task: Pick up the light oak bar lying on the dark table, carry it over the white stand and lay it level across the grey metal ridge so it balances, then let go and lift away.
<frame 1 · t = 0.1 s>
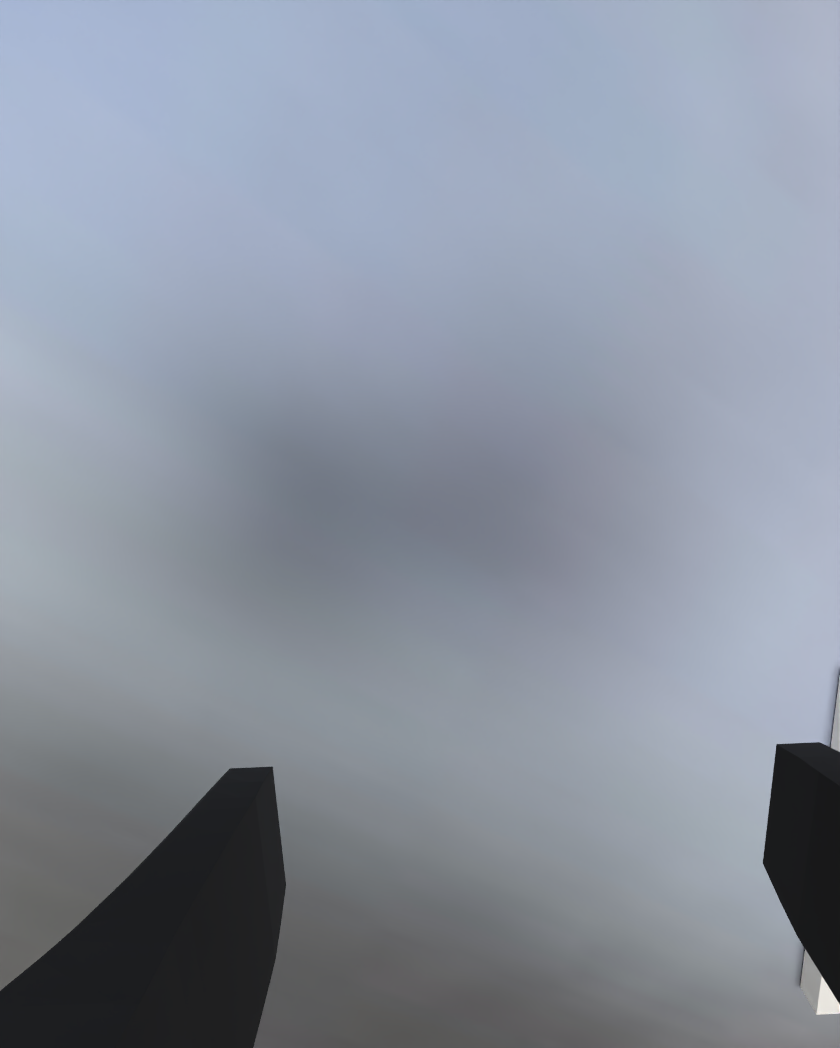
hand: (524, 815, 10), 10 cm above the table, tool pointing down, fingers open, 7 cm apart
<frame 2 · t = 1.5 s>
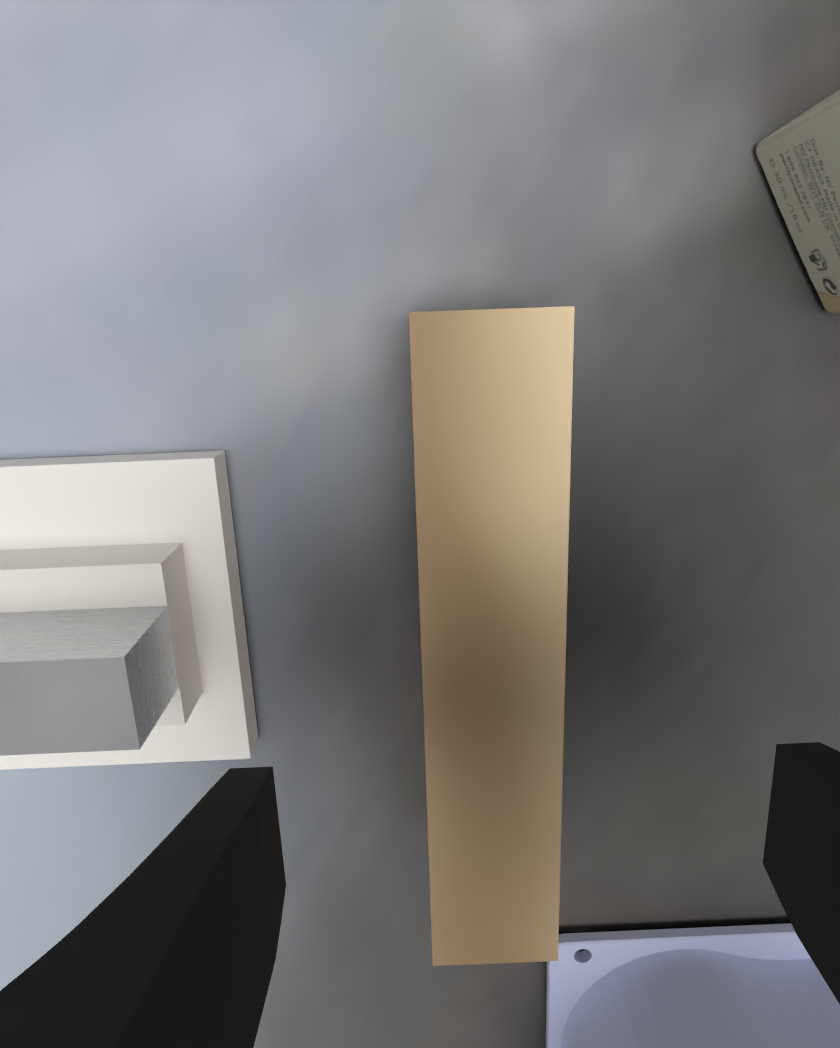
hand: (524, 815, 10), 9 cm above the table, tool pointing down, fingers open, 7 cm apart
oak bar: (472, 588, 19), on the table
ridge stand: (11, 612, 18), on the table
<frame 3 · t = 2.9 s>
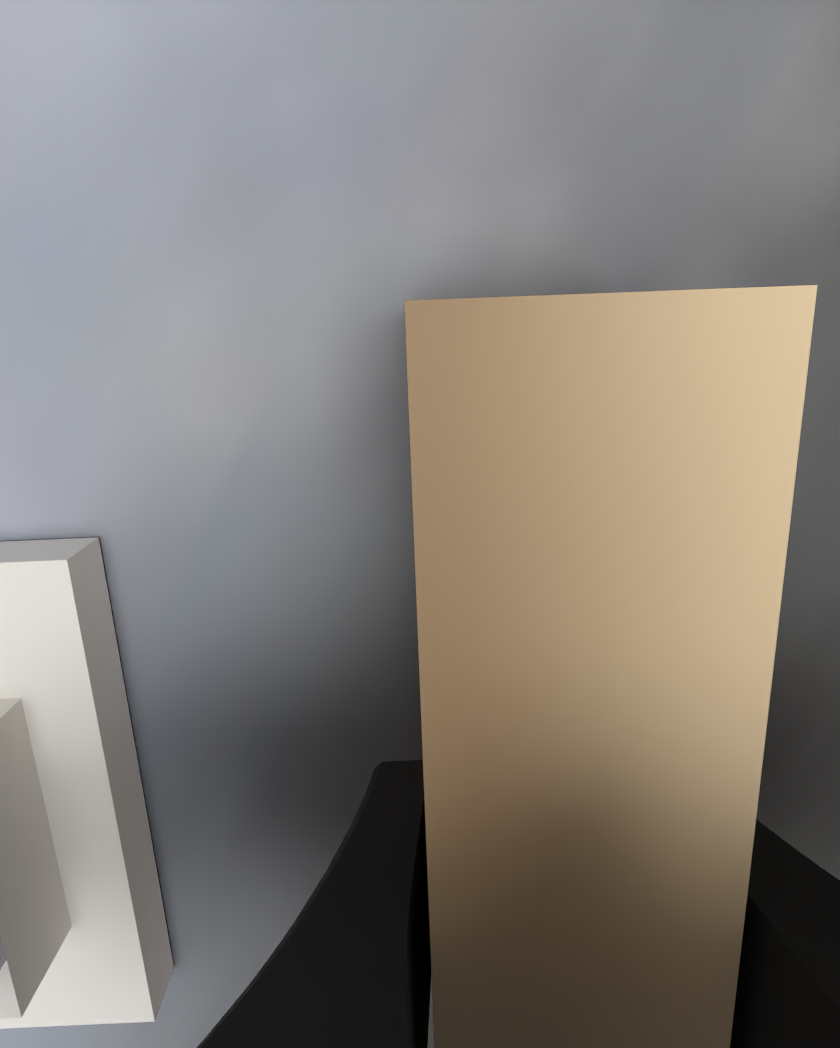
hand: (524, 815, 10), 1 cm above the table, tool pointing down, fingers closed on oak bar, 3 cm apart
oak bar: (509, 754, 12), on the table, touching gripper
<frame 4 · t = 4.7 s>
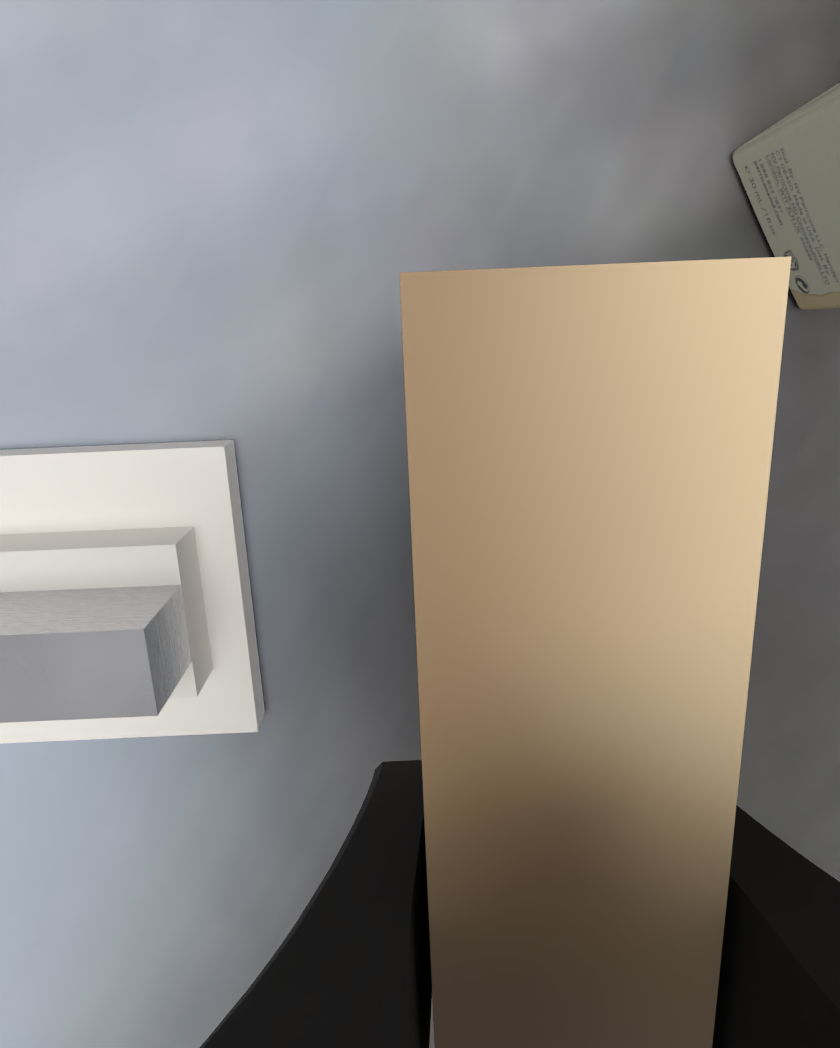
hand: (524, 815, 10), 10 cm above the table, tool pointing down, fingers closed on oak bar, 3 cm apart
oak bar: (507, 731, 12), point 8 cm above the table, touching gripper
ridge stand: (31, 593, 20), on the table
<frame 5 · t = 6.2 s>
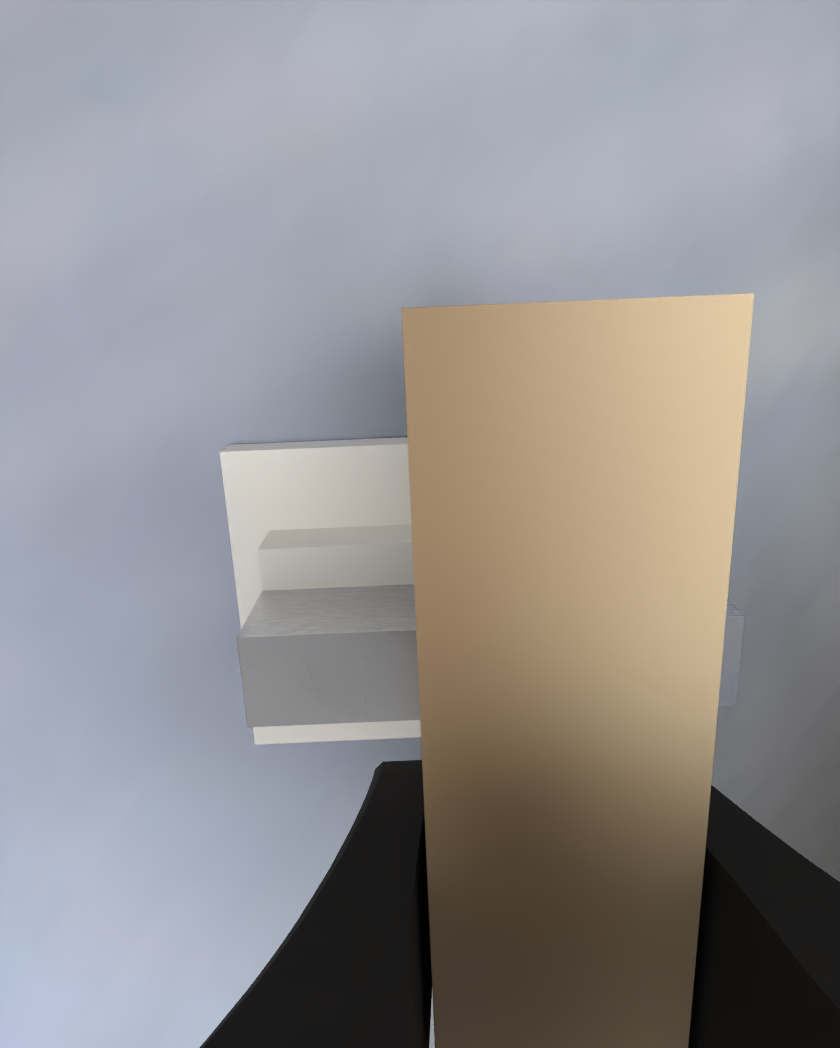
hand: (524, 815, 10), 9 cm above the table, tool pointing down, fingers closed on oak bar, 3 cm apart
oak bar: (503, 727, 12), point 7 cm above the table, touching gripper
ridge stand: (470, 583, 19), on the table
when the fingers open (7 cm above the table, at t = 7.0 s): oak bar stays where it is, resting on ridge stand.
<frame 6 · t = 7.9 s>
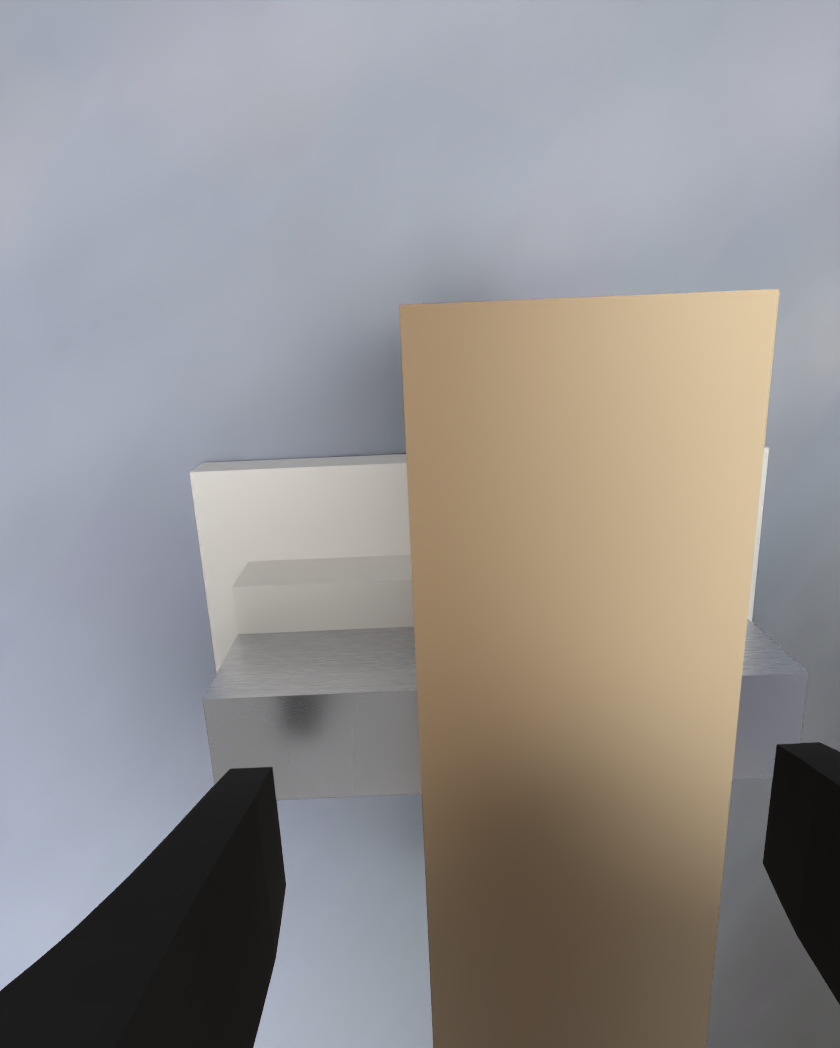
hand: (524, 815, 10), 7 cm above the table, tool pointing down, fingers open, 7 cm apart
oak bar: (505, 739, 12), point 5 cm above the table, touching ridge stand
ridge stand: (478, 618, 17), on the table
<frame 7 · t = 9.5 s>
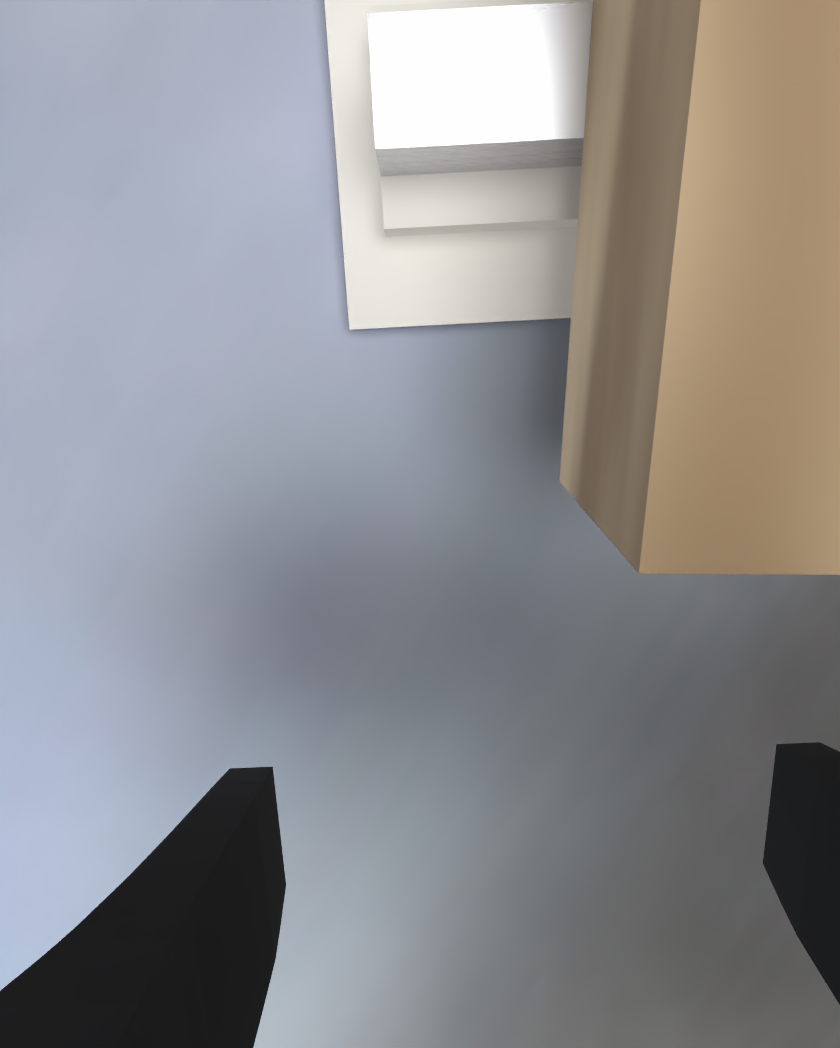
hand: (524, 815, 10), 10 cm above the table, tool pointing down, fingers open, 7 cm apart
oak bar: (671, 75, 12), point 5 cm above the table, touching ridge stand
ridge stand: (594, 138, 17), on the table
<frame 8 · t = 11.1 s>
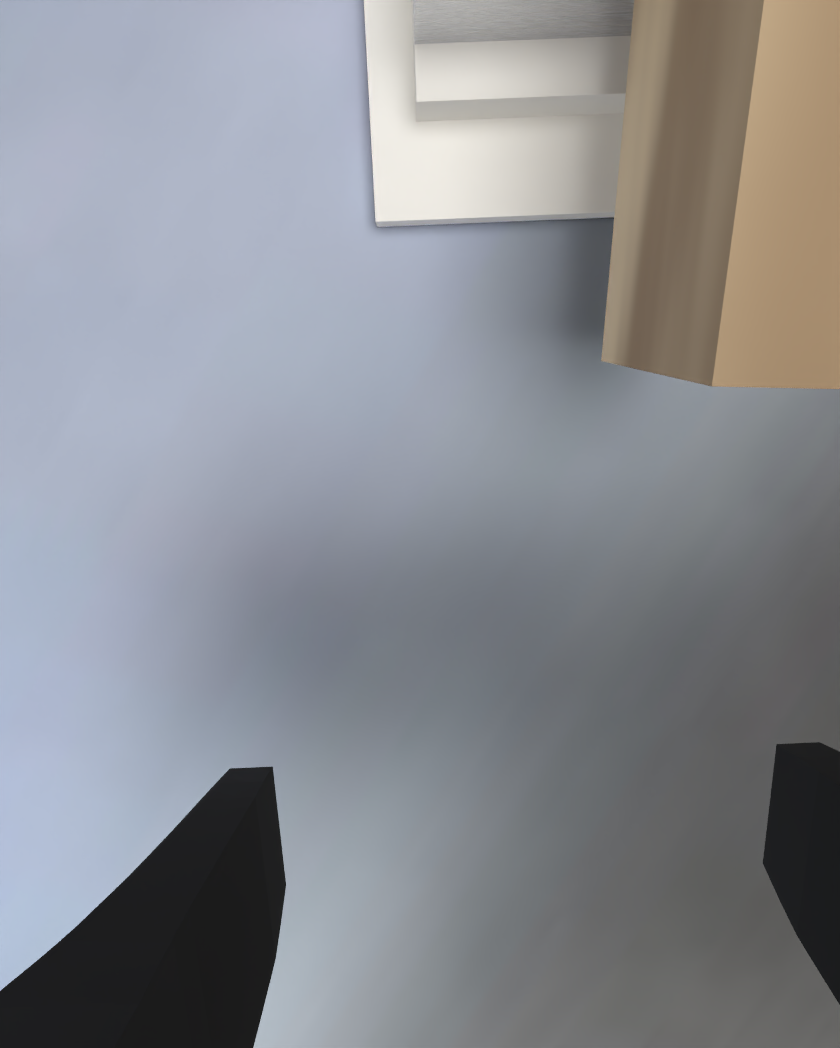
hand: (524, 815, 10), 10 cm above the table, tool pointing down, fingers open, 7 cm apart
ridge stand: (633, 25, 16), on the table
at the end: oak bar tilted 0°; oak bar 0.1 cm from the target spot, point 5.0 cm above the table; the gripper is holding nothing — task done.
